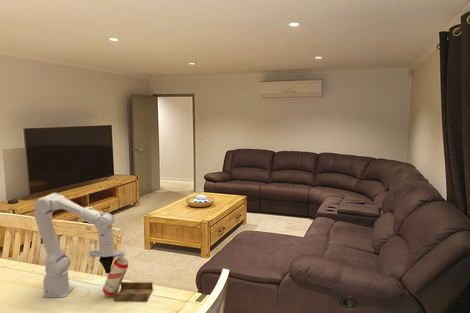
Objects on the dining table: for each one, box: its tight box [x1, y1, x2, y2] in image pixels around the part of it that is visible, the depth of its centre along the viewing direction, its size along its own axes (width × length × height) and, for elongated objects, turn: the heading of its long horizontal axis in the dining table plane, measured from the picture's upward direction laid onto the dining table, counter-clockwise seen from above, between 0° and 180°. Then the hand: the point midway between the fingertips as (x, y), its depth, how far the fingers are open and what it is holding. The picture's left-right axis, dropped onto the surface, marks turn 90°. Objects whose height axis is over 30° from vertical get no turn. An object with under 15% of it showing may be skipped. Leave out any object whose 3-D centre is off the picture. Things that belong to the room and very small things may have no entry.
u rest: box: [113, 281, 154, 303], centre depth 154 cm, size 14×10×4 cm
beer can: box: [102, 257, 129, 297], centre depth 153 cm, size 6×6×16 cm
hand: (108, 272), depth 153 cm, fingers closed
